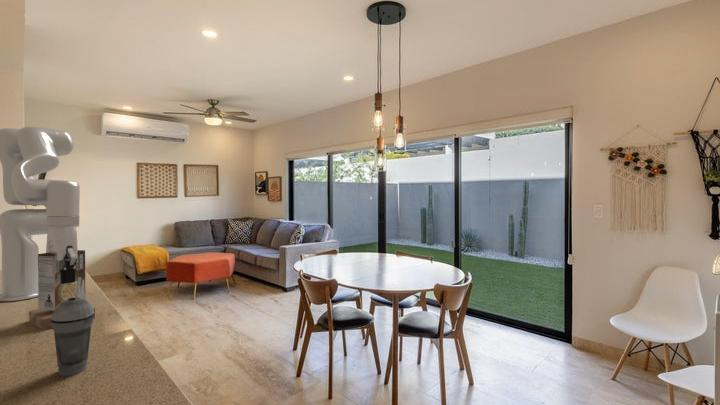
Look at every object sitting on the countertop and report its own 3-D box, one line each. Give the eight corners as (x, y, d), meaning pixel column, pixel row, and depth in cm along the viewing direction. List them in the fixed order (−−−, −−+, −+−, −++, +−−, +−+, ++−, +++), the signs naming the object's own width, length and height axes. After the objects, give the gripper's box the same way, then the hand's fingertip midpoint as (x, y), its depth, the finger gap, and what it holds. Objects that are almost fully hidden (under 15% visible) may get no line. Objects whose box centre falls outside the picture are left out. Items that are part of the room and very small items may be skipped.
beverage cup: (67, 362, 78) (68, 273, 78) (101, 362, 78) (102, 273, 78) (40, 379, 71) (41, 281, 70) (78, 378, 71) (79, 281, 71)
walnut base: (29, 321, 102) (29, 311, 102) (78, 310, 112) (79, 301, 112) (43, 330, 96) (43, 319, 96) (94, 318, 106) (94, 308, 106)
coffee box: (69, 300, 109) (69, 249, 109) (86, 301, 108) (86, 250, 108) (36, 309, 100) (37, 253, 100) (54, 311, 99) (55, 254, 99)
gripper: (36, 221, 105) (36, 278, 105) (58, 224, 96) (57, 288, 96) (67, 219, 111) (67, 274, 112) (90, 223, 102) (89, 282, 102)
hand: (62, 280), depth 104 cm, fingers closed on coffee box, 7 cm apart
